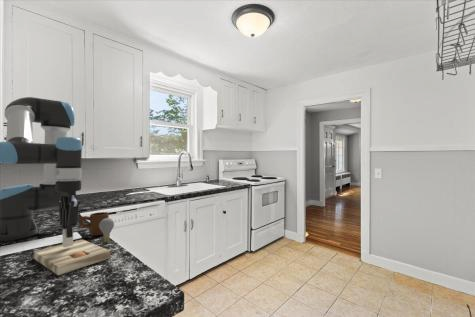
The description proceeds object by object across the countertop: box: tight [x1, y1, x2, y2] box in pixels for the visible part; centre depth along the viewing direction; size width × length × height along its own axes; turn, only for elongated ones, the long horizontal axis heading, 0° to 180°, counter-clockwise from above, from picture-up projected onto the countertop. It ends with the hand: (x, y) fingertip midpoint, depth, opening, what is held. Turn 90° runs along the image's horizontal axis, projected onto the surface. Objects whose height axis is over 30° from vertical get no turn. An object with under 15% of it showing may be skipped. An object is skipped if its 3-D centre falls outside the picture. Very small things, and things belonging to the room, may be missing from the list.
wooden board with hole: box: [33, 239, 111, 276], centre depth 79 cm, size 22×15×2 cm
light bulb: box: [99, 218, 115, 243], centre depth 95 cm, size 5×6×10 cm
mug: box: [77, 211, 109, 237], centre depth 106 cm, size 12×8×9 cm, turn 131°
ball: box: [74, 252, 86, 259], centre depth 75 cm, size 3×3×3 cm
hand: (67, 245), depth 81 cm, fingers closed
